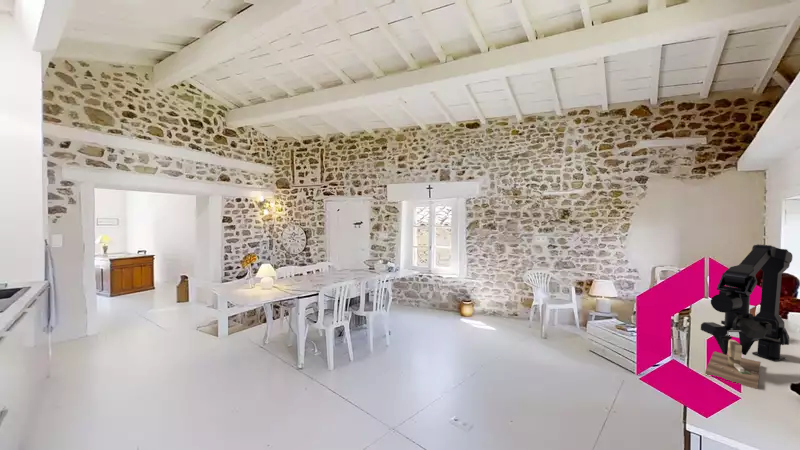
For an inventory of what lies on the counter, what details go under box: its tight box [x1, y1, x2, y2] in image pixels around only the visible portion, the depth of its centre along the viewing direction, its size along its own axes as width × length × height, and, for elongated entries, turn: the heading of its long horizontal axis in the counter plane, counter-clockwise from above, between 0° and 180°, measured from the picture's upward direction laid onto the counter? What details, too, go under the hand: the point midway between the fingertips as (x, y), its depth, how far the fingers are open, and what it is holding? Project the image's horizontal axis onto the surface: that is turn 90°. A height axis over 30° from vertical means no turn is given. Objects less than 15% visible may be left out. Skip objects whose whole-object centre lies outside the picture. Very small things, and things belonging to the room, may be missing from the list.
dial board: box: [704, 351, 761, 390], centre depth 119 cm, size 22×12×2 cm, turn 133°
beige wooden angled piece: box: [727, 339, 744, 372], centre depth 117 cm, size 8×3×8 cm, turn 157°
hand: (734, 354), depth 118 cm, fingers open, 6 cm apart
